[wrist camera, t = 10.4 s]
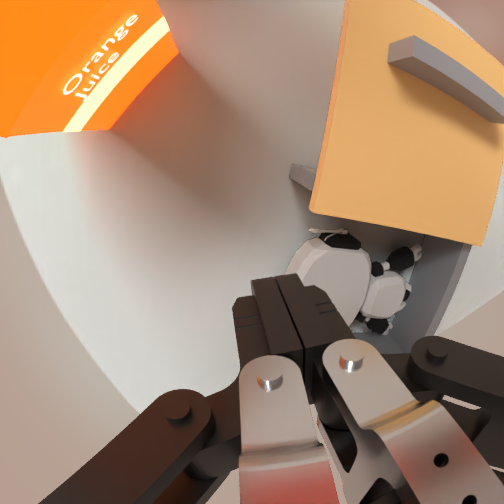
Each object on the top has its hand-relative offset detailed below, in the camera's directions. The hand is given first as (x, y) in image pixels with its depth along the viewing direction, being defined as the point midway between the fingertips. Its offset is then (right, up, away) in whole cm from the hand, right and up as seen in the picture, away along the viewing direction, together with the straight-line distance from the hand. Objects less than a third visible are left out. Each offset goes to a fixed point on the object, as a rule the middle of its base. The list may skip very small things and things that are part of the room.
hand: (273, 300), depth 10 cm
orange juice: (-12, +17, +9) cm, 23 cm away
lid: (+14, +12, +8) cm, 20 cm away
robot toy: (+9, -1, +20) cm, 22 cm away
